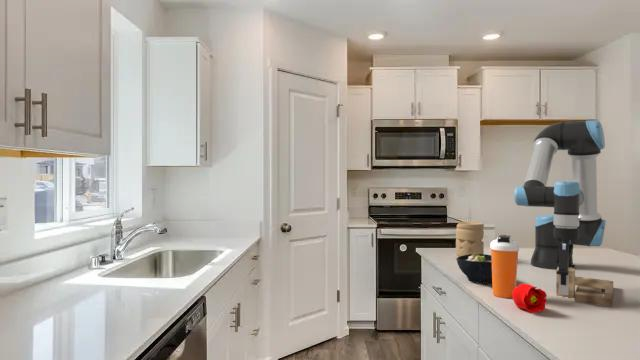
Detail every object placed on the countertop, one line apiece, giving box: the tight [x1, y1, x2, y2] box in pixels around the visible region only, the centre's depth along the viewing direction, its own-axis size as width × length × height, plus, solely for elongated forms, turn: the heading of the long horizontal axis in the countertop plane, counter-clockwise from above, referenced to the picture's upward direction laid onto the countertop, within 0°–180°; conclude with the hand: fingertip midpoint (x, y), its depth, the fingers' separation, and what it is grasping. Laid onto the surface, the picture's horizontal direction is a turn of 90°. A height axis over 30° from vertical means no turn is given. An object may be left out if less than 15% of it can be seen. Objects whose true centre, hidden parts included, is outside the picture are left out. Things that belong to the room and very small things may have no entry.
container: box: [455, 221, 485, 261], centre depth 203 cm, size 13×13×18 cm
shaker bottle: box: [489, 234, 520, 299], centre depth 142 cm, size 9×9×20 cm
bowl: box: [456, 254, 492, 284], centre depth 163 cm, size 17×17×10 cm
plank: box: [573, 280, 614, 308], centre depth 144 cm, size 10×28×2 cm, turn 145°
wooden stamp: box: [555, 267, 610, 299], centre depth 140 cm, size 14×5×9 cm, turn 55°
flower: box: [512, 283, 548, 314], centre depth 128 cm, size 8×8×8 cm
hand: (565, 290), depth 142 cm, fingers open, 13 cm apart
